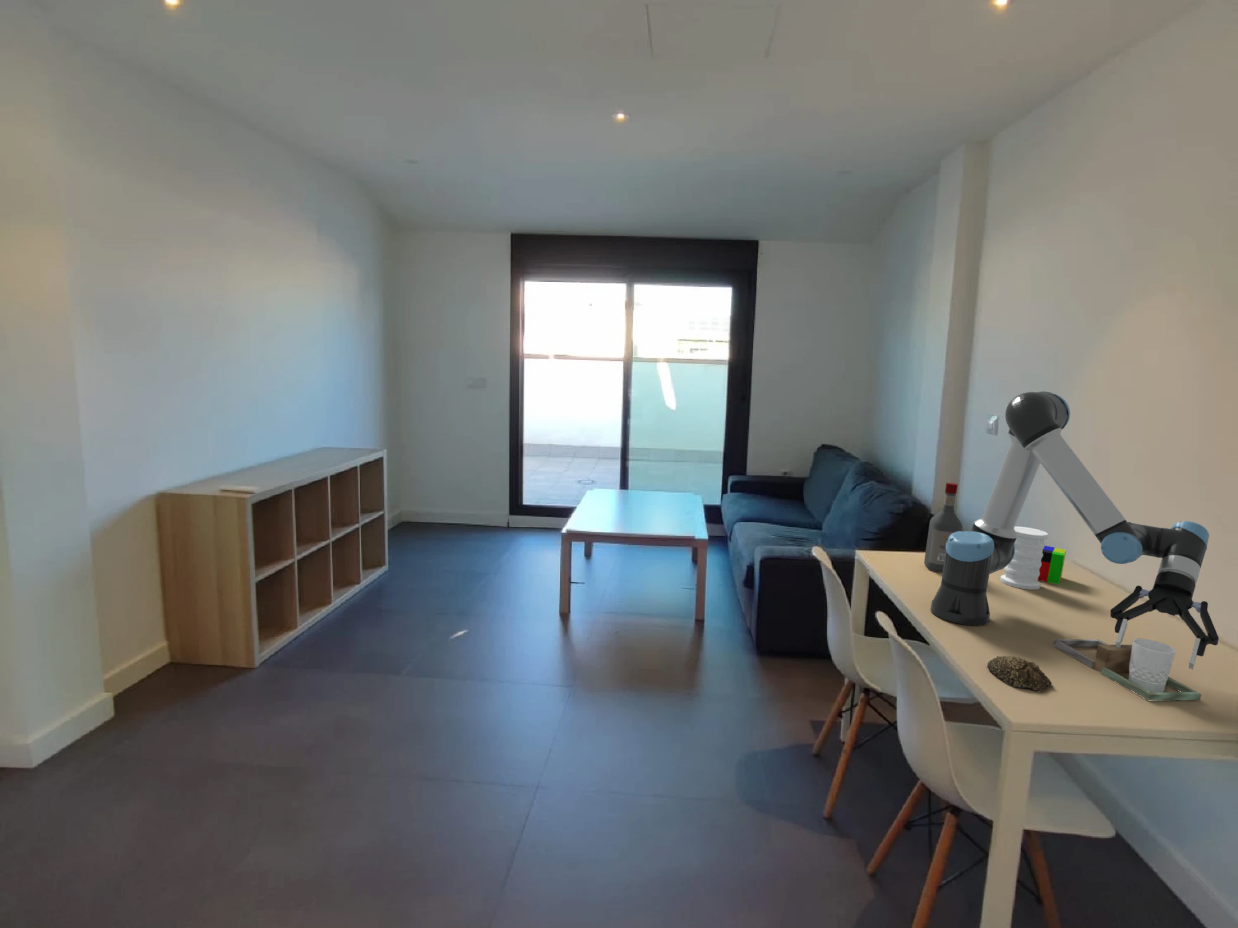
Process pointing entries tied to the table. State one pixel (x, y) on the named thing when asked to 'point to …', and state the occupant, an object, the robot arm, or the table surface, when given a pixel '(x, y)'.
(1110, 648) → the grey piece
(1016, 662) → the bread roll
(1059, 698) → the table surface
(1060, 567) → the puzzle toy
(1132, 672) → the white cup
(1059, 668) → the table surface
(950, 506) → the liquor
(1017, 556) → the decorative container
